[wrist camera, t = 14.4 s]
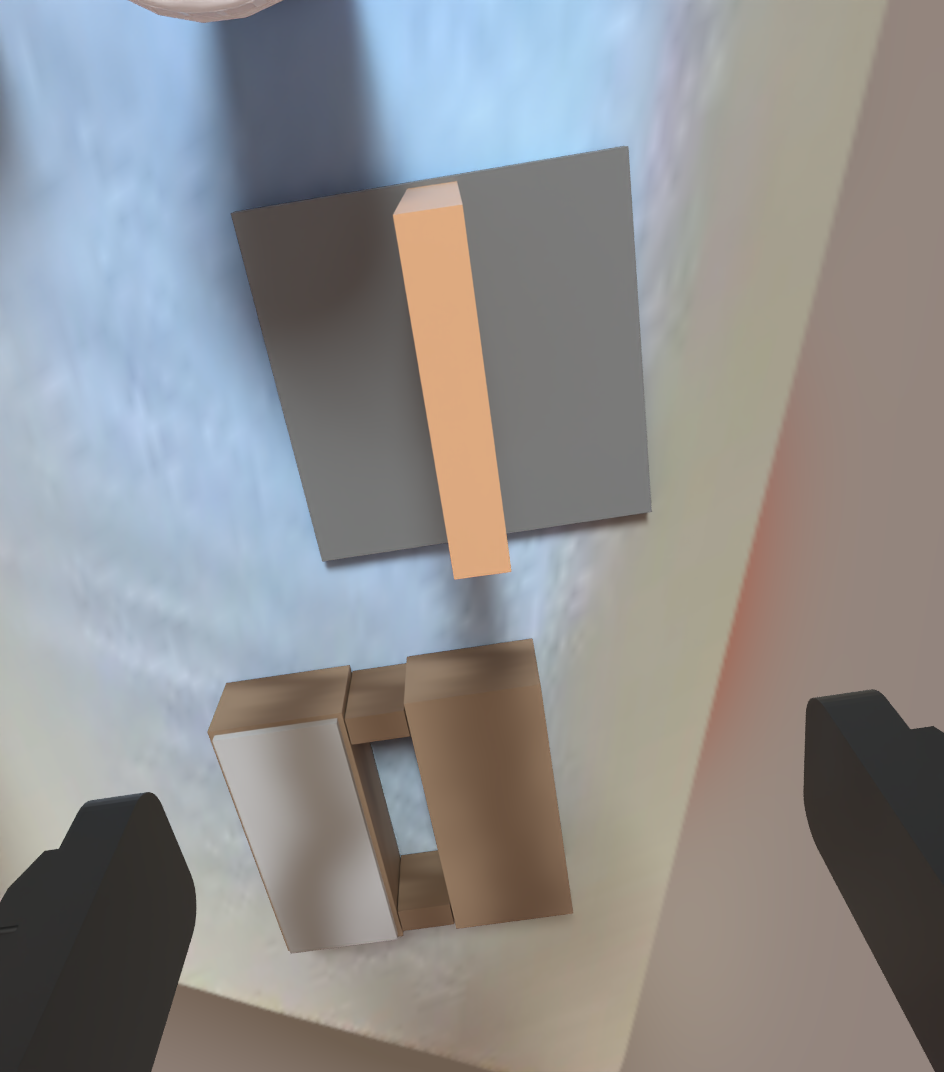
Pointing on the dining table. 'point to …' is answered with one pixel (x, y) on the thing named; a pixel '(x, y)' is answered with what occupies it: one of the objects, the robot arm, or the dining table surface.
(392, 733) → the brown slotted wooden block
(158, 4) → the smoothie
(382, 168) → the dining table surface
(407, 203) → the peach rectangular slab
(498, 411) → the mat
